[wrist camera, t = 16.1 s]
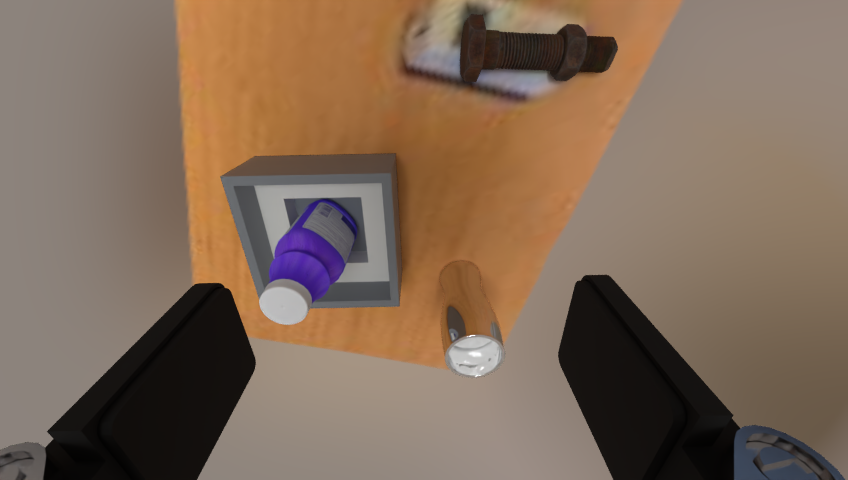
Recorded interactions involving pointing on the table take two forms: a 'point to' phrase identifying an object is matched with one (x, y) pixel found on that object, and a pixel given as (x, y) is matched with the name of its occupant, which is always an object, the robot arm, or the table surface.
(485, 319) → the beer glass
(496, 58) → the bolt
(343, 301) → the bore box
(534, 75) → the table surface
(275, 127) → the table surface
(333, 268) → the bottle
